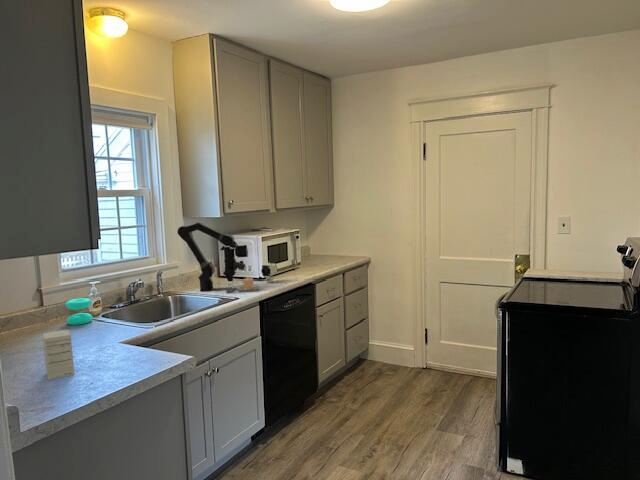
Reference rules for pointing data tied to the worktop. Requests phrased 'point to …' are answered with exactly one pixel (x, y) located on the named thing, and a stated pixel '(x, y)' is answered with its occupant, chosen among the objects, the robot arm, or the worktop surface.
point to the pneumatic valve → (269, 271)
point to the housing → (248, 283)
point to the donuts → (80, 317)
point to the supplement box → (58, 354)
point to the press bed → (248, 289)
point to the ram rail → (230, 289)
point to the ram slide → (230, 284)
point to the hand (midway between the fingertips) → (231, 285)
